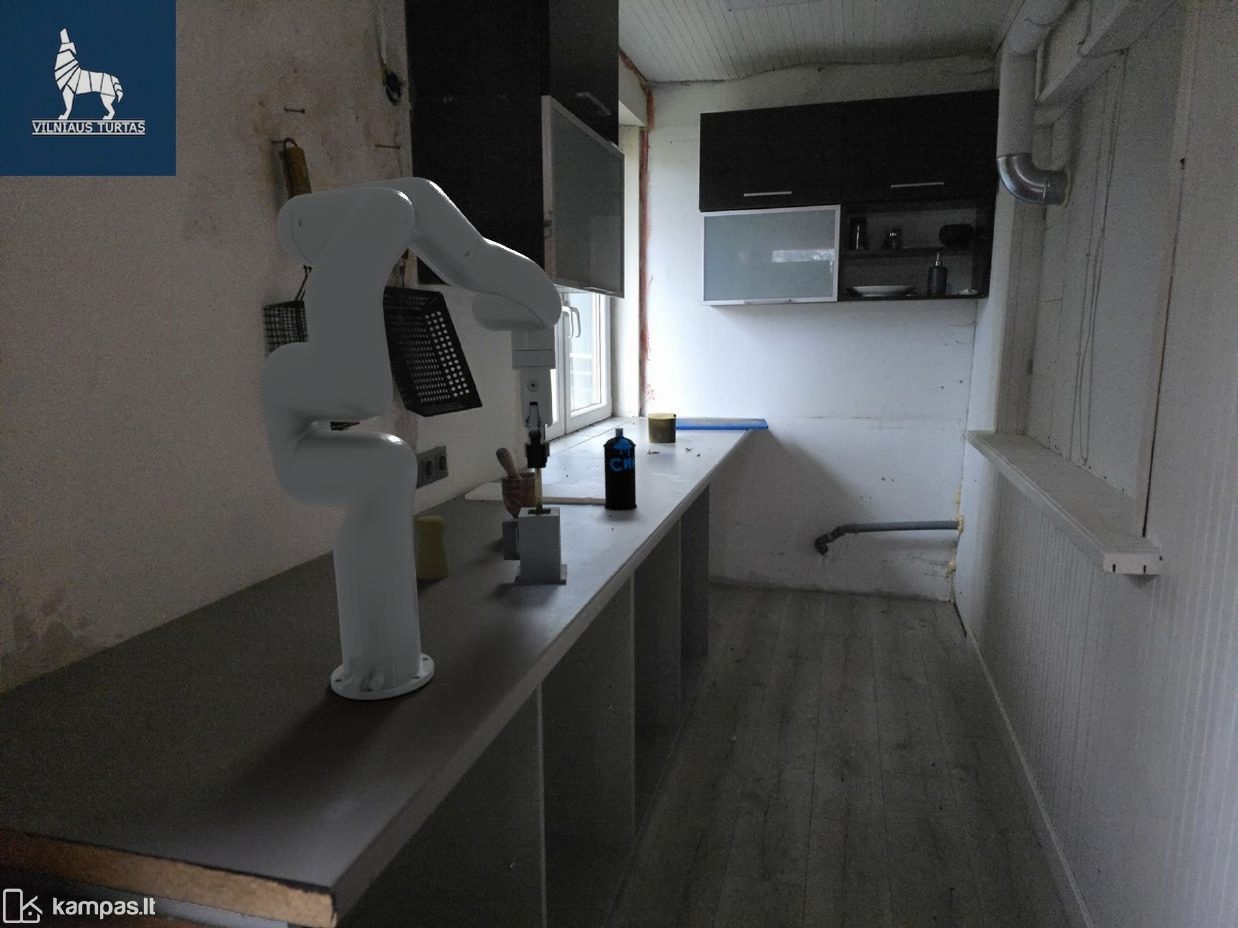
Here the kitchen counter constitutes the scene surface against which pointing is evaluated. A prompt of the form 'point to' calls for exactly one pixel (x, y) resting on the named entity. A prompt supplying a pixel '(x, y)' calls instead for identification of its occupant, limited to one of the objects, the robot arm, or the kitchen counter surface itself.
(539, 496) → the plunger
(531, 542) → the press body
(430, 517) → the cork
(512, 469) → the mortar and pestle
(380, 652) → the robot arm
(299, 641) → the kitchen counter surface
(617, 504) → the aerosol can
